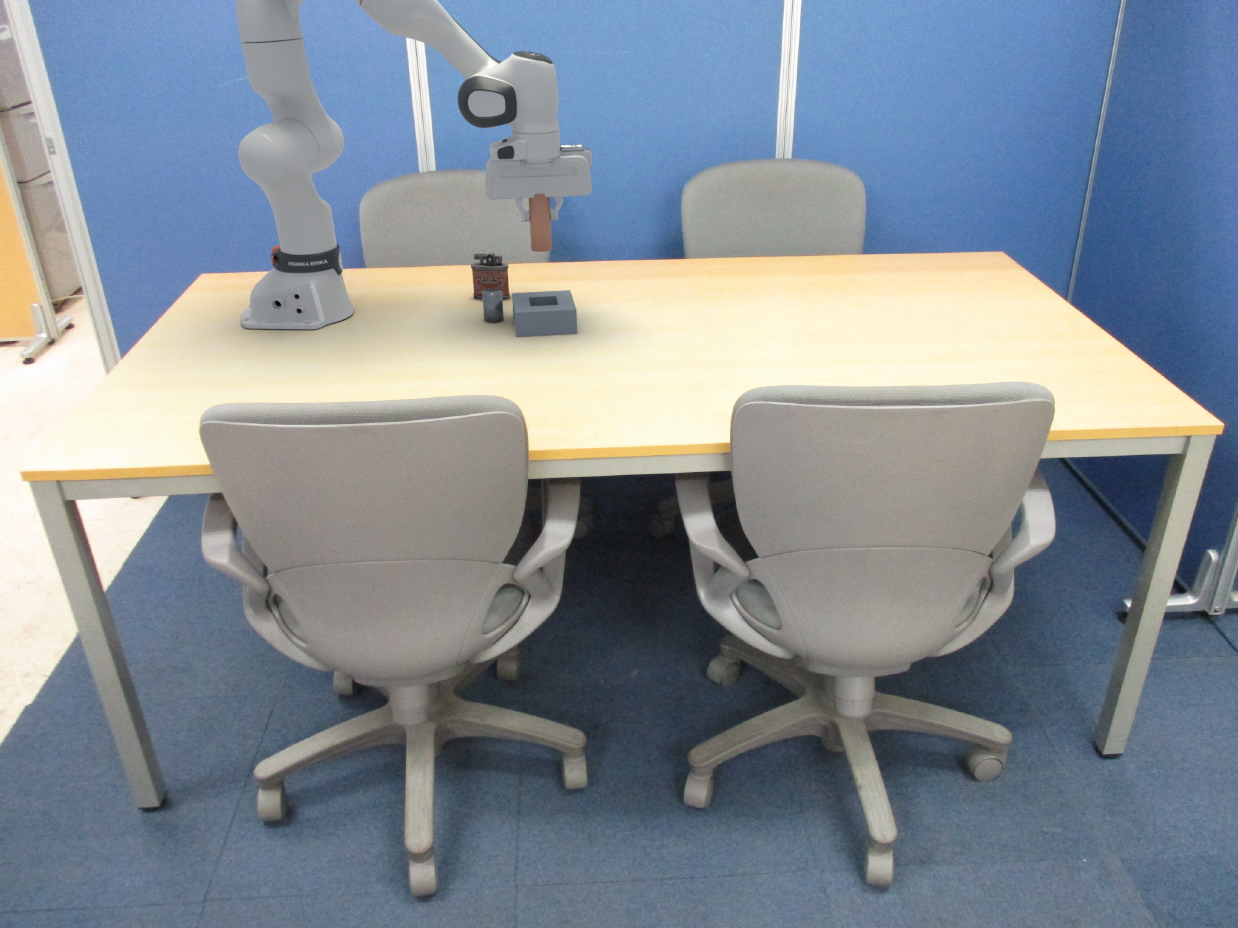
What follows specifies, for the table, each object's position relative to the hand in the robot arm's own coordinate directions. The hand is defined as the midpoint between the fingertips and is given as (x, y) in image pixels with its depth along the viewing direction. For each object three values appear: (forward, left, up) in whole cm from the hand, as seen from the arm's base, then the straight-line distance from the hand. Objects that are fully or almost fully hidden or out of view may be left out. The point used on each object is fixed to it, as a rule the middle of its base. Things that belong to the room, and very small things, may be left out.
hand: (540, 220), depth 190 cm
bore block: (0, 0, -21) cm, 21 cm away
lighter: (-10, +19, -22) cm, 30 cm away
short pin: (-10, +5, -21) cm, 24 cm away
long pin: (0, 0, -6) cm, 6 cm away
